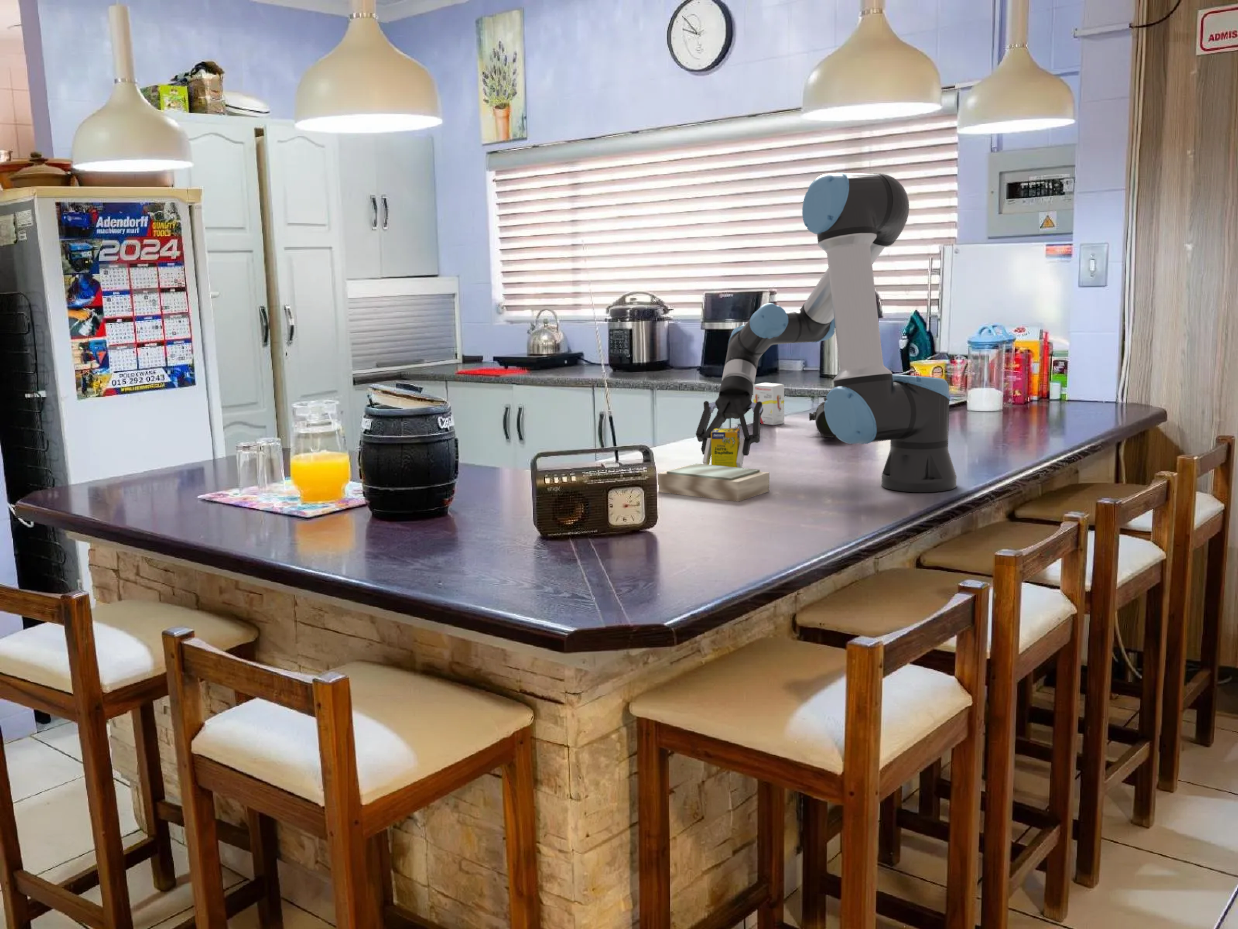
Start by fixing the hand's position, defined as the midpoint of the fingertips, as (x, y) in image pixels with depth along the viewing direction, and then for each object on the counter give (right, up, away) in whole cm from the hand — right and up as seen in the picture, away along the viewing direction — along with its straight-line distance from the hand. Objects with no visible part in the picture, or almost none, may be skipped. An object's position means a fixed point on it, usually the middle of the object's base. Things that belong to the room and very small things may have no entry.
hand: (722, 465), depth 245 cm
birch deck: (-3, -5, -11) cm, 12 cm away
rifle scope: (+35, +8, +63) cm, 72 cm away
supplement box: (+1, -3, +4) cm, 5 cm away
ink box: (+22, +12, +89) cm, 93 cm away
